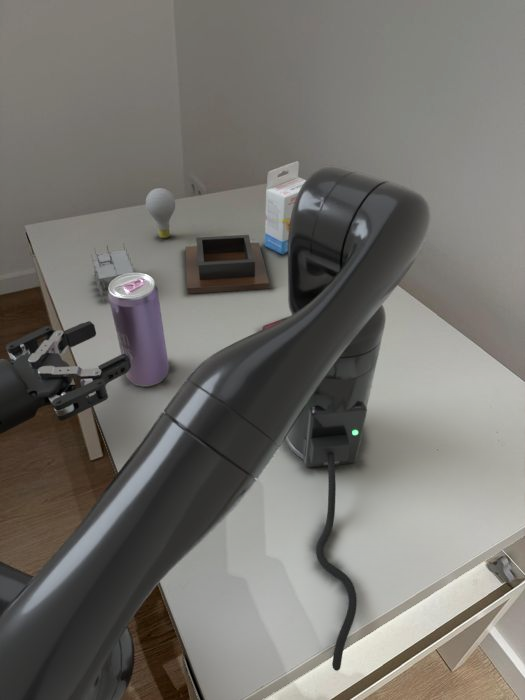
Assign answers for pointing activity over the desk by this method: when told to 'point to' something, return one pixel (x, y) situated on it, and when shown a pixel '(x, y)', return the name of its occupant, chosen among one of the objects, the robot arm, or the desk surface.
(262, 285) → the base pad
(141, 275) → the beverage can
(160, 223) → the light bulb
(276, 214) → the ink box
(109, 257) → the building frame
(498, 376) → the desk surface
